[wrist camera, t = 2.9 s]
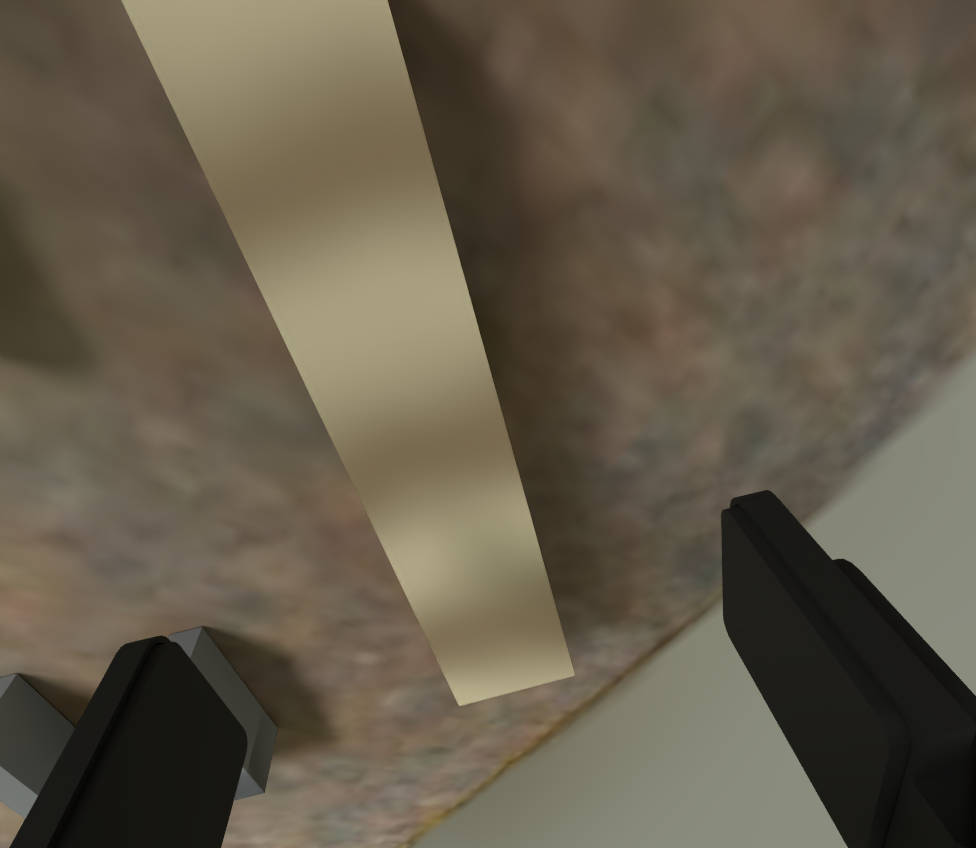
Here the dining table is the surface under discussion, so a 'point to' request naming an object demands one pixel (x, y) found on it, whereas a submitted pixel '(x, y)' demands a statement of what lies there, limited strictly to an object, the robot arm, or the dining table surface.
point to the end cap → (45, 732)
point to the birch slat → (369, 304)
